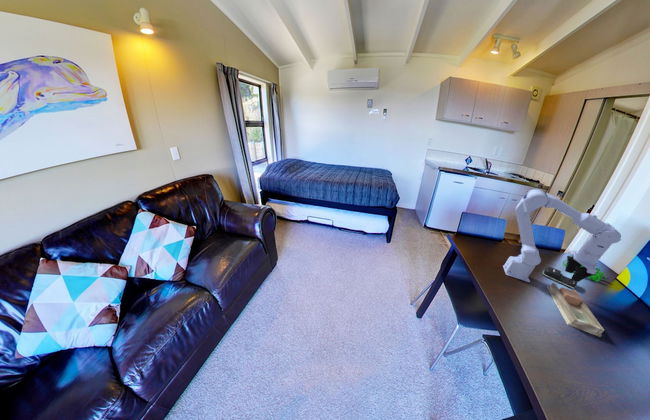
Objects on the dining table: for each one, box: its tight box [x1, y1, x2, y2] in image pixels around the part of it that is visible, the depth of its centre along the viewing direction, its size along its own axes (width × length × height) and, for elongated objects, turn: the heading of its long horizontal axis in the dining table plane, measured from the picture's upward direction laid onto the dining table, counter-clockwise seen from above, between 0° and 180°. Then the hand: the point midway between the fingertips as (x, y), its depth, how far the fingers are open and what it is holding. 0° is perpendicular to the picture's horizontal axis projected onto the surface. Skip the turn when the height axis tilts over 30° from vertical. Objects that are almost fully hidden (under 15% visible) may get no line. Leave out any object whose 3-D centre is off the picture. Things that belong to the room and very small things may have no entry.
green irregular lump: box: [562, 259, 607, 282], centre depth 108 cm, size 15×15×7 cm
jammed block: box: [558, 287, 583, 306], centre depth 89 cm, size 5×5×4 cm
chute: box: [546, 282, 605, 338], centre depth 85 cm, size 9×22×4 cm, turn 150°
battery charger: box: [542, 266, 579, 290], centre depth 102 cm, size 7×4×11 cm
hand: (571, 276), depth 91 cm, fingers open, 6 cm apart
